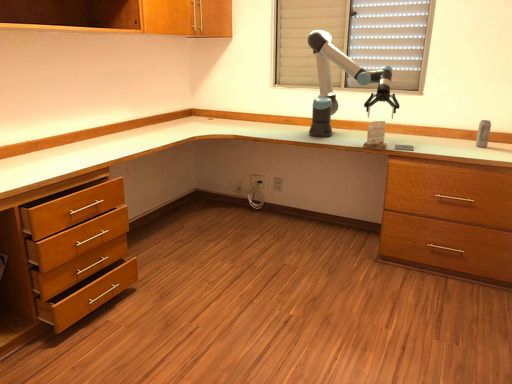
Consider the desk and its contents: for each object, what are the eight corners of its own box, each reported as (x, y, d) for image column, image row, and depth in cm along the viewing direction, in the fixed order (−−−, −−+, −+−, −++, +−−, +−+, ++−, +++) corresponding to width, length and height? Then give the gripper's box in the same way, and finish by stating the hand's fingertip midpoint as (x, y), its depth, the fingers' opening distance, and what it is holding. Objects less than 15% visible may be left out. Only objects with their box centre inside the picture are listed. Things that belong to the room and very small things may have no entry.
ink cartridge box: (379, 144, 250) (382, 119, 245) (383, 146, 245) (386, 121, 240) (366, 145, 248) (368, 120, 243) (369, 147, 243) (372, 121, 239)
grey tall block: (485, 145, 248) (490, 120, 243) (488, 148, 242) (492, 121, 238) (474, 145, 249) (478, 119, 245) (476, 147, 244) (481, 121, 239)
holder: (362, 147, 242) (363, 143, 241) (365, 143, 254) (365, 139, 253) (385, 149, 238) (385, 144, 237) (386, 144, 250) (386, 140, 249)
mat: (394, 149, 238) (394, 148, 238) (395, 145, 249) (395, 144, 249) (413, 150, 235) (413, 150, 235) (413, 146, 246) (413, 145, 246)
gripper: (405, 92, 258) (402, 121, 249) (362, 91, 265) (358, 119, 257) (406, 84, 251) (402, 113, 243) (362, 83, 259) (358, 111, 250)
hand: (380, 116), depth 250 cm, fingers open, 13 cm apart
